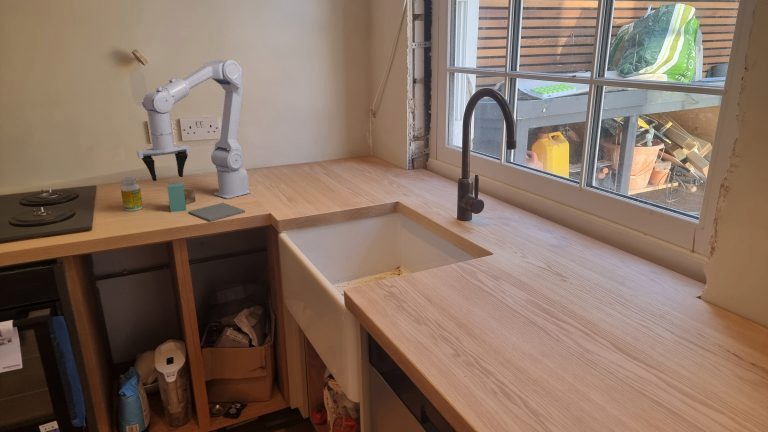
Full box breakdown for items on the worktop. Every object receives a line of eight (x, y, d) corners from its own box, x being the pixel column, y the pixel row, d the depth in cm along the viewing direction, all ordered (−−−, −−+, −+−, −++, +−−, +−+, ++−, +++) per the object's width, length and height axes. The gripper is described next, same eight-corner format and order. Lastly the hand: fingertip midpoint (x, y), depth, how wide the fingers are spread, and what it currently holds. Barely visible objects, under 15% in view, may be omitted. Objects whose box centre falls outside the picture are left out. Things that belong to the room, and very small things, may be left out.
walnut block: (186, 200, 171) (185, 188, 170) (195, 201, 170) (194, 190, 168) (177, 203, 168) (175, 191, 167) (186, 205, 166) (185, 193, 165)
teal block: (186, 206, 164) (183, 182, 162) (186, 210, 160) (183, 185, 158) (170, 208, 163) (167, 183, 160) (170, 212, 159) (167, 186, 156)
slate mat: (223, 204, 167) (223, 202, 166) (245, 212, 159) (245, 210, 159) (188, 213, 158) (188, 211, 158) (210, 221, 151) (209, 219, 150)
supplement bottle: (135, 211, 159) (130, 181, 156) (120, 210, 160) (115, 180, 157) (146, 206, 164) (142, 176, 161) (131, 205, 165) (126, 175, 162)
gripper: (182, 129, 160) (187, 172, 165) (131, 134, 152) (139, 179, 156) (189, 132, 155) (195, 176, 159) (137, 137, 147) (145, 184, 151)
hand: (167, 178), depth 157 cm, fingers open, 7 cm apart
